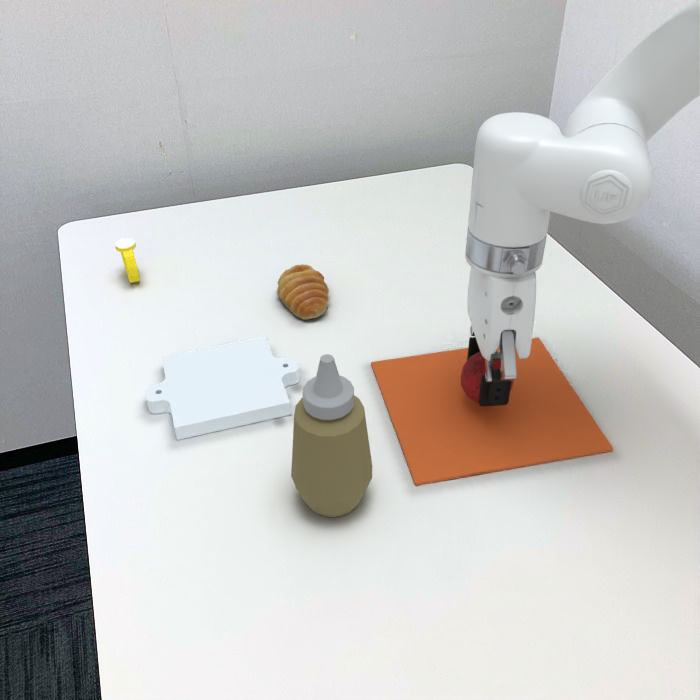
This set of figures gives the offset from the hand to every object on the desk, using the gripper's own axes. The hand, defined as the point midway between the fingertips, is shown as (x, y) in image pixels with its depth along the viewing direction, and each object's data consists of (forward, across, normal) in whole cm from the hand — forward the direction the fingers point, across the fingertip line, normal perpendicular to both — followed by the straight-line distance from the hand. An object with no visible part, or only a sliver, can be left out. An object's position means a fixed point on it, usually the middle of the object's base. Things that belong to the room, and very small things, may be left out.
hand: (486, 382), depth 83 cm
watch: (+4, +31, +45) cm, 55 cm away
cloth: (+3, 0, 0) cm, 3 cm away
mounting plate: (+4, +5, +30) cm, 31 cm away
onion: (+3, 0, 0) cm, 3 cm away
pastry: (+4, +23, +20) cm, 31 cm away
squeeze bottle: (+4, -12, +18) cm, 22 cm away
